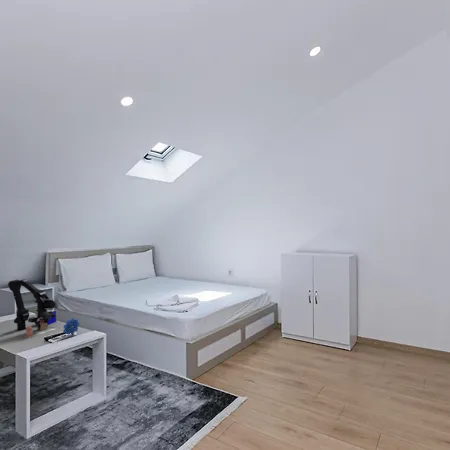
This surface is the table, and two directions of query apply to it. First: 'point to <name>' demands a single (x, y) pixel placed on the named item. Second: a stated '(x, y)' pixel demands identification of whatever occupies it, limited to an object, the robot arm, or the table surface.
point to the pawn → (29, 331)
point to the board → (42, 332)
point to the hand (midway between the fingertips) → (42, 328)
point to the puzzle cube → (53, 319)
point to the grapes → (71, 326)
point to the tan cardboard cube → (43, 326)
